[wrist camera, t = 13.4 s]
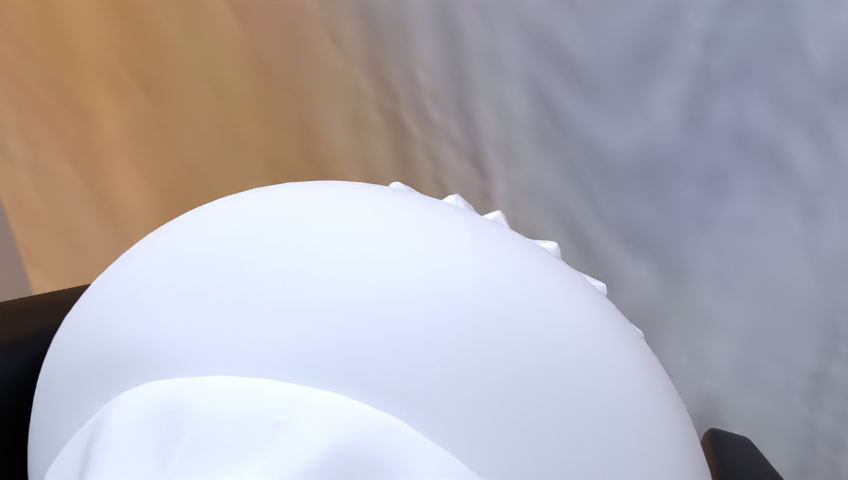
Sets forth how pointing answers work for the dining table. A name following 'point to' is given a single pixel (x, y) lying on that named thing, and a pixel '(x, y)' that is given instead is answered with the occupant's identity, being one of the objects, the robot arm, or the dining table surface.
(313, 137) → the dining table surface
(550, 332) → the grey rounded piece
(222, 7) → the dining table surface
